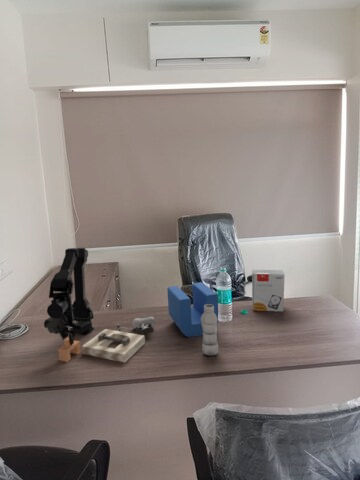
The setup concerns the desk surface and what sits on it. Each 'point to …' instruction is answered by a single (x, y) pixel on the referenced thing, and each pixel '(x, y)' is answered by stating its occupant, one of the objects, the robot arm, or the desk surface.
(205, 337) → the plastic bottle
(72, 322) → the robot arm
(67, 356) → the wooden cross piece
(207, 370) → the desk surface
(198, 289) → the block
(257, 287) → the hard drive box
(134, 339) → the beige square frame
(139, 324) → the clip-on lamp
